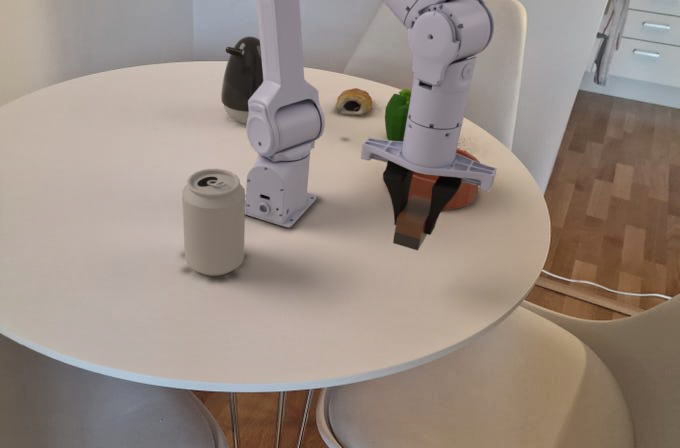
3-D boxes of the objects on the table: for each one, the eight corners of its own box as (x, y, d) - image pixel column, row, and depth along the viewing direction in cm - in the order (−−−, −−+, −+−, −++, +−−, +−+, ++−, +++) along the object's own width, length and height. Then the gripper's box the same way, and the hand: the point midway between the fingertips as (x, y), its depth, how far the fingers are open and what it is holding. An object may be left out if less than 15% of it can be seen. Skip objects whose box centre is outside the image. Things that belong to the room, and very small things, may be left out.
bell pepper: (416, 130, 118) (425, 78, 112) (435, 150, 111) (445, 95, 106) (373, 133, 116) (380, 79, 111) (389, 153, 110) (397, 98, 104)
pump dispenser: (209, 116, 120) (207, 35, 111) (251, 103, 126) (253, 25, 117) (245, 135, 113) (246, 50, 105) (287, 120, 119) (291, 39, 111)
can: (213, 238, 87) (212, 158, 80) (256, 260, 83) (258, 178, 76) (172, 262, 82) (167, 180, 75) (215, 287, 78) (214, 203, 71)
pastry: (342, 96, 130) (344, 78, 128) (375, 101, 129) (377, 83, 127) (333, 114, 123) (335, 95, 121) (369, 119, 121) (371, 100, 119)
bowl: (464, 219, 93) (470, 192, 90) (377, 195, 98) (381, 168, 95) (484, 180, 103) (490, 155, 100) (404, 160, 108) (408, 136, 105)
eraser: (417, 250, 73) (423, 225, 71) (392, 243, 74) (397, 217, 72) (432, 225, 78) (437, 200, 76) (408, 219, 79) (412, 194, 77)
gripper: (512, 119, 68) (484, 226, 76) (381, 92, 74) (368, 194, 81) (499, 145, 63) (471, 257, 70) (360, 113, 68) (347, 221, 76)
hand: (414, 225), depth 75 cm, fingers closed on eraser, 3 cm apart
